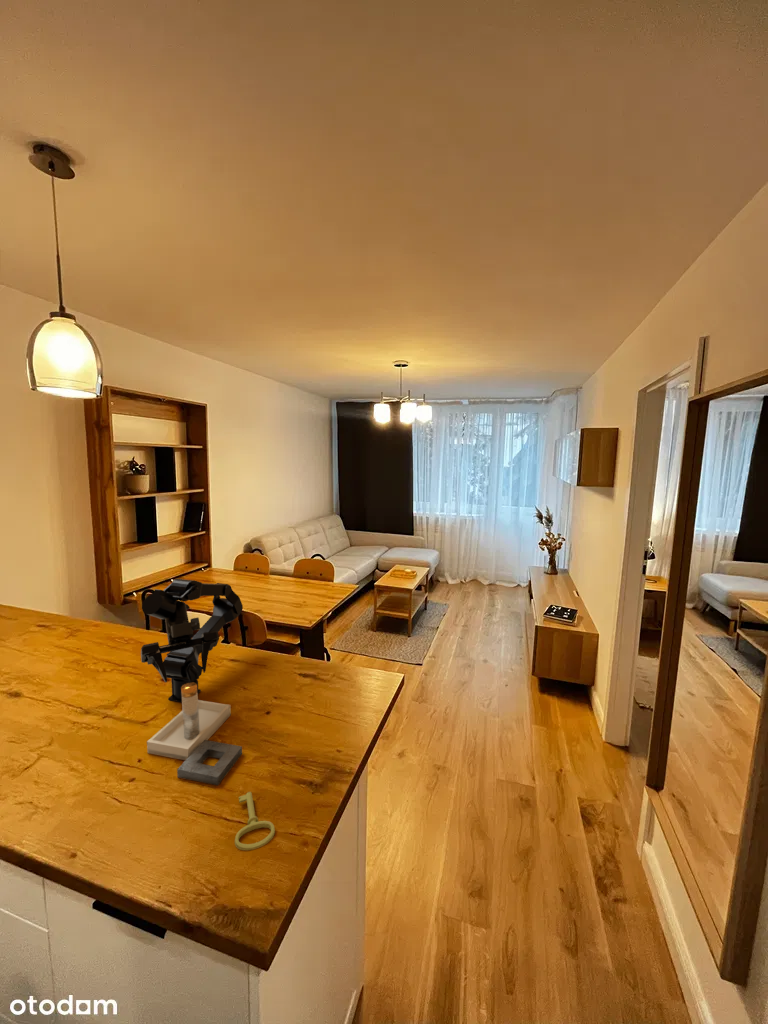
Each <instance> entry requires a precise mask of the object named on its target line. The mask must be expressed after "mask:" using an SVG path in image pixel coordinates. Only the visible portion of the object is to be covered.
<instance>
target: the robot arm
mask: <svg viewBox="0 0 768 1024" xmlns="http://www.w3.org/2000/svg"><path fill="white" fill-rule="evenodd" d="M212 596H213V599H212V602H211V603H212V605H213V608H212V615H211V616H210V617H209V618H208V619H207V621H206V622H205V623H204V624H203V625H202V626H201V625H200V624H201V623H200V618H199V617H194V618H193V617H192V618H190V619H189V616H188V610H189V609H190V605H189V604H187V603H186V602H187V601H195V600H197V599H200V598H201V597H212ZM243 607H244V606H243V603H242V601H241V599H240V596H239V595H238V594H237V593H236V592H235V591H234V590H233V589H232V586H231V585H230V584H228V583H220V582H218V583H205V582H204V583H202V582H201V581H198V580H194V579H185V578H175V579H173V580H172V582H171V583H170V584H169V585H168V586H166V587H165V588H164V589H156V588H155V589H154V591H153V592H152V593H151V594H149V595H148V596H146V598H145V599H144V600H143V601H142V603H141V610H142V612H143V613H144V614H146V615H148V616H150V617H154V618H157V619H159V620H165V621H164V622H165V629H166V634H167V643H168V644H164V645H160V644H159V641H156V642H152V643H147V644H143V645H142V646H141V649H140V659H141V660H140V661H141V663H144V664H145V663H147V665H152V666H153V667H154V669H156V670H157V672H158V673H159V675H160V677H161V678H162V679H163V681H164V683H167V682H168V679H170V680H171V682H170V683H171V695H170V696H169V697H168V701H170V702H171V701H173V702H178V703H182V694H181V687H182V686H183V685H184V684H186V683H191V682H194V683H197V693H198V695H199V694H200V693H201V692H202V689H199V679H200V676H202V673H206V670H207V664H208V663H207V662H208V656H209V653H210V652H211V651H212V650H213V648H215V647H217V646H218V643H219V640H220V635H219V632H220V630H221V629H222V628H223V627H224V626H225V625H227V624H228V623H230V622H233V621H235V620H236V619H237V618H238V617H239V616H240V615H241V614H242V612H243V609H244V608H243ZM189 620H190V621H189ZM197 630H198V631H197ZM194 631H197V632H196V633H195V634H194ZM166 653H167V654H166ZM162 654H166V656H165V658H164V660H163V657H162ZM199 656H201V665H200V664H199Z"/></svg>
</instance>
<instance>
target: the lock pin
mask: <svg viewBox="0 0 768 1024" xmlns="http://www.w3.org/2000/svg"><path fill="white" fill-rule="evenodd" d="M181 694H182V702H181V705H182V706H181V707H182V708H181V709H182V710H183V726H184V738H185V739H193V738H196V737H197V736H198V735H199V734H200V727H199V710H198V700H199V696H198V695H199V694H198V693H197V683H194V682H191V683H186V684H184V685H183V686H182V687H181ZM182 710H181V711H182Z"/></svg>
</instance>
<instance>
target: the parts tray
mask: <svg viewBox="0 0 768 1024" xmlns="http://www.w3.org/2000/svg"><path fill="white" fill-rule="evenodd" d="M231 707H232V706H231V704H228V703H227V704H226V703H219V702H213V701H207V700H201V699H198V710H199V727H200V734H199V735H198V736H197V737H196V738H193V739H185V738H184V726H183V710H181V711H180V712H179V713H177V715H176V716H174V717H173V718H172V719H170V721H169V722H168V723H166V724H165V725H164V726H163V727H162V728H161V729H159V730H158V731H157V732H156V733H155V734H154V735H152V737H150V739H148V740H147V741H146V746H147V748H146V749H147V754H151V755H156V756H160V757H161V756H162V757H167V758H172V759H178V760H182V761H185V760H186V759H187V758H188V757H189V756H190V755H191V754H192V753H193V752H194V751H195V750H196V749H197V748H198V747H199V746H200V744H201V743H202V742H203V741H204V740H209V739H210V738H211V737H212V736H213V735H214V734H215V733H216V731H218V729H220V727H221V726H222V725H223V724H224V723H225V722H226V721H227V720H228V719H229V717H231V714H232V712H231V709H232V708H231Z"/></svg>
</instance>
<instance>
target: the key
mask: <svg viewBox="0 0 768 1024" xmlns="http://www.w3.org/2000/svg"><path fill="white" fill-rule="evenodd" d="M253 797H254V796H253V793H252V791H247V793H245V794H244V795H240V796H238V802H239V804H241V803H244V802H246V805H247V811H248V820H247V825H245V826H243V827H242V828H241V829H240V830H238V832H237V833H236V835H235V837H234V846H235V847H236V848H237V849H238V850H240V851H253V850H256V849H258V848H261V847H264V846H265V845H267V844H269V843H270V841H271V840H272V839H273V838H274V836H275V834H276V830H275V825H274V823H273V822H271V821H269V820H268V821H267V820H260V821H259V818H258V816H257V815H256V811H255V803H254V798H253ZM261 828H265V829H266V828H268V829H269V830H270V832H269V834H268V835H267V836H265V838H263V839H262V840H259V841H257V842H253V843H248V844H247V843H242V842H240V841H239V840H240V838H241V837H242V836H244V835H245V834H247V833H249V832H251V831H253V830H254V831H255V830H257V829H261Z"/></svg>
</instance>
